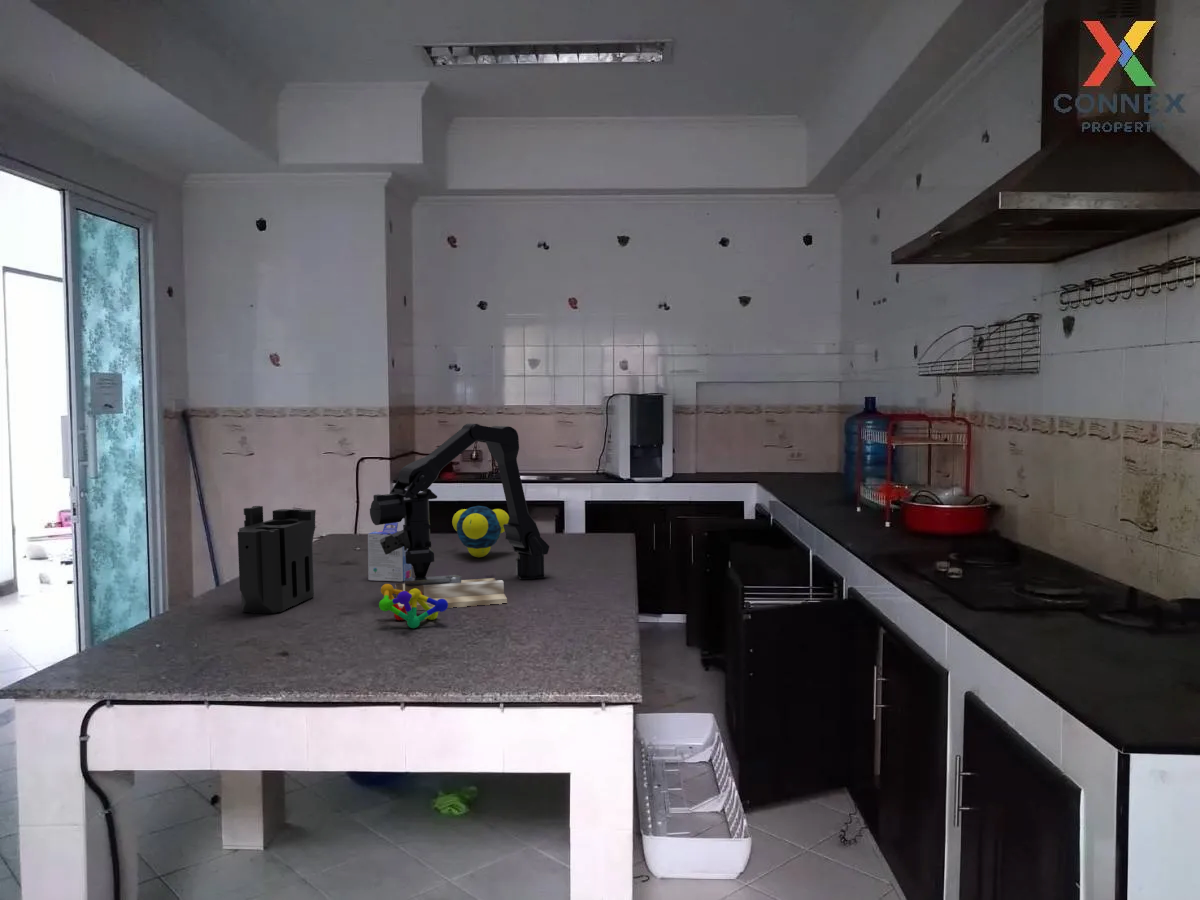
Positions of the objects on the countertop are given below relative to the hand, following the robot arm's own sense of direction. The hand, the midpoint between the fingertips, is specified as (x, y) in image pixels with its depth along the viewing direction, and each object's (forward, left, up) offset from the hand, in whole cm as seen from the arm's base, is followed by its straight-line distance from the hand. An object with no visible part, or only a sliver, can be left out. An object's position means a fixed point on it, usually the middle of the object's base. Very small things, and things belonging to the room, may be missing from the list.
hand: (419, 585), depth 196 cm
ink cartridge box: (+6, -21, -3) cm, 22 cm away
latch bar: (-3, +3, -1) cm, 4 cm away
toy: (-19, -42, -3) cm, 46 cm away
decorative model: (+2, +23, -3) cm, 23 cm away
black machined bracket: (+32, -1, -3) cm, 33 cm away
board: (-7, +2, -3) cm, 7 cm away
